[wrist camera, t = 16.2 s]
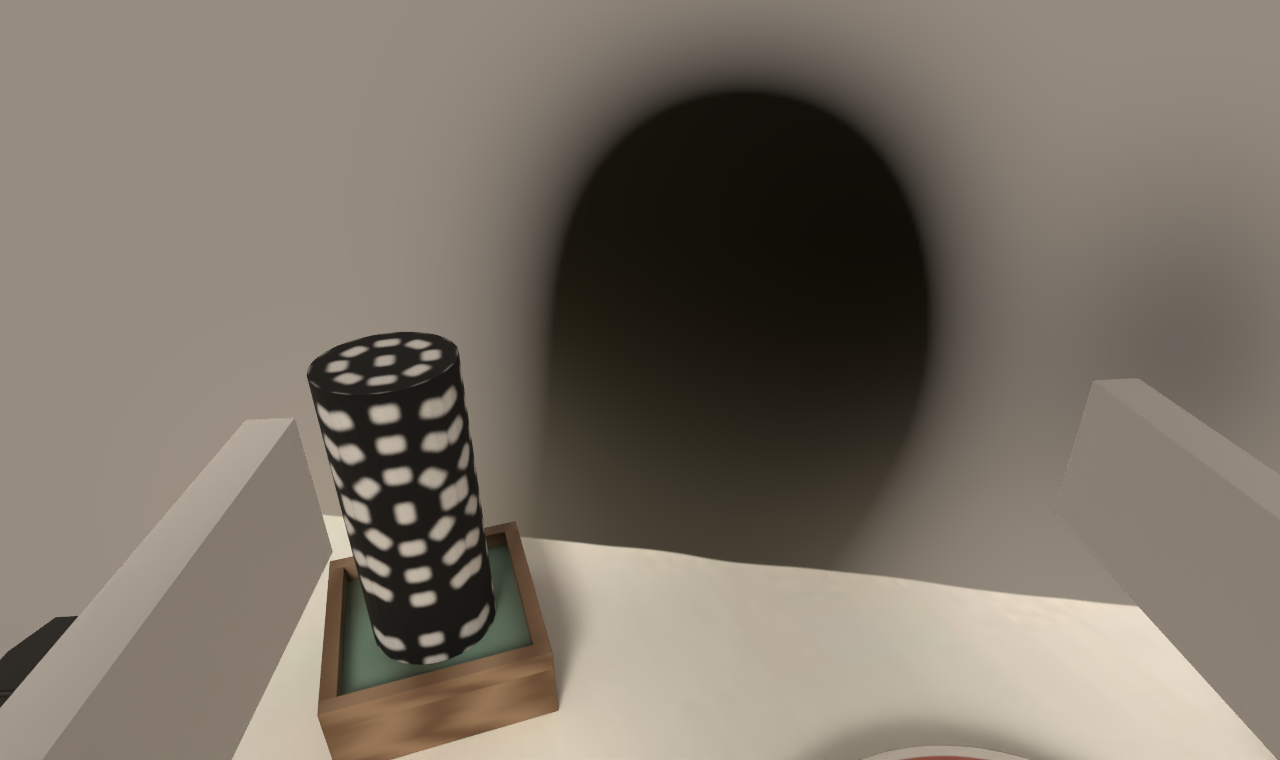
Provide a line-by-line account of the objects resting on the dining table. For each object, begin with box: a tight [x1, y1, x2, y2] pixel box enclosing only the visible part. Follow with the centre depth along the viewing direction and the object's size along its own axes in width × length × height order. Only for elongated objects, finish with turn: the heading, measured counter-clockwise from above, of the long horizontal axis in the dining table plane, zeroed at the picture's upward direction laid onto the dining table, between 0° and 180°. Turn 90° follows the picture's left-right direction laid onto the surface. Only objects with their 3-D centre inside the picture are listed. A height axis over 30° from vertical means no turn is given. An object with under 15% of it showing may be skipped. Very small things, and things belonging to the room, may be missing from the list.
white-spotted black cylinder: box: [307, 332, 496, 665], centre depth 46 cm, size 8×8×20 cm
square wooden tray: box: [317, 522, 558, 760], centre depth 51 cm, size 14×14×6 cm
